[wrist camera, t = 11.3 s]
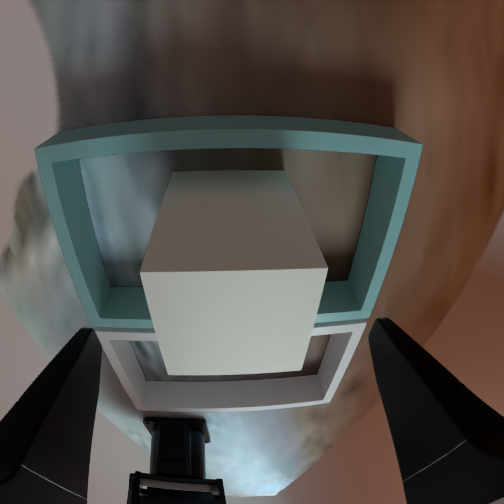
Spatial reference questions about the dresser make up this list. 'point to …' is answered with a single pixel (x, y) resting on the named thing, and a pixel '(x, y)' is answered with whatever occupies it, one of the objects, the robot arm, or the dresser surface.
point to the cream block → (232, 274)
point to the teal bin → (226, 136)
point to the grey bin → (231, 392)
